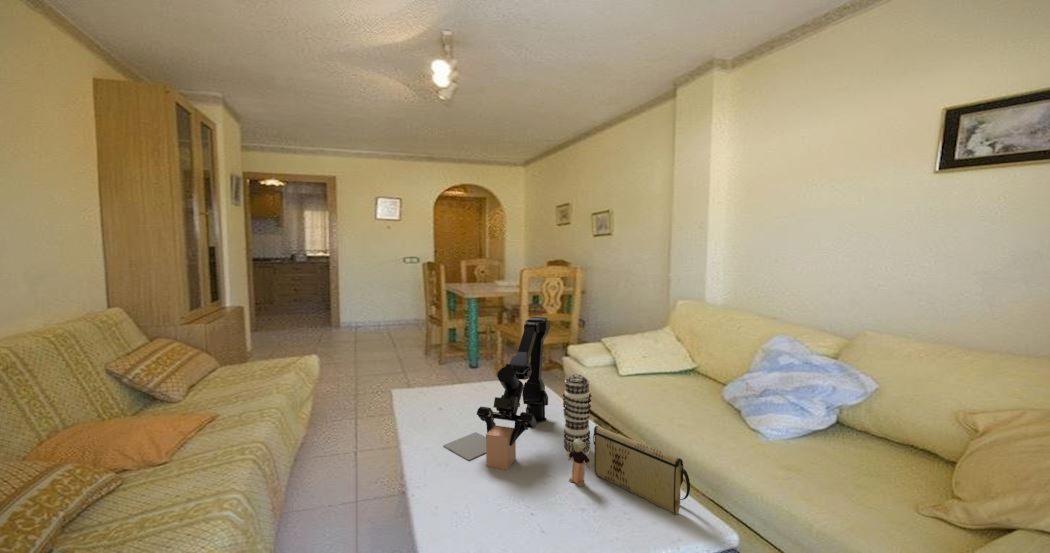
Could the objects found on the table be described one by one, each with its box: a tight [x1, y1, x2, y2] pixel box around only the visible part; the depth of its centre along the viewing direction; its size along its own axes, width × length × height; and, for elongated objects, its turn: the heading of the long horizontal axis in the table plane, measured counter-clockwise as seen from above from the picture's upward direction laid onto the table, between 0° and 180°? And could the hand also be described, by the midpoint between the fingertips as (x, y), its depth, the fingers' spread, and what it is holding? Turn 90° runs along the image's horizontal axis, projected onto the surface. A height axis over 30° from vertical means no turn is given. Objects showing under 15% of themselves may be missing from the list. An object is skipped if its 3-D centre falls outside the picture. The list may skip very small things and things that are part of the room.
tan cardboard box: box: [485, 425, 517, 470], centre depth 137 cm, size 7×7×10 cm
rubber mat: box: [442, 431, 486, 462], centre depth 148 cm, size 14×14×1 cm
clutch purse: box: [592, 425, 691, 516], centre depth 121 cm, size 30×7×15 cm, turn 42°
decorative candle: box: [562, 374, 592, 457], centre depth 143 cm, size 9×9×25 cm
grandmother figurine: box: [567, 439, 592, 486], centre depth 125 cm, size 8×4×13 cm, turn 62°
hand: (499, 443), depth 136 cm, fingers closed on tan cardboard box, 7 cm apart
